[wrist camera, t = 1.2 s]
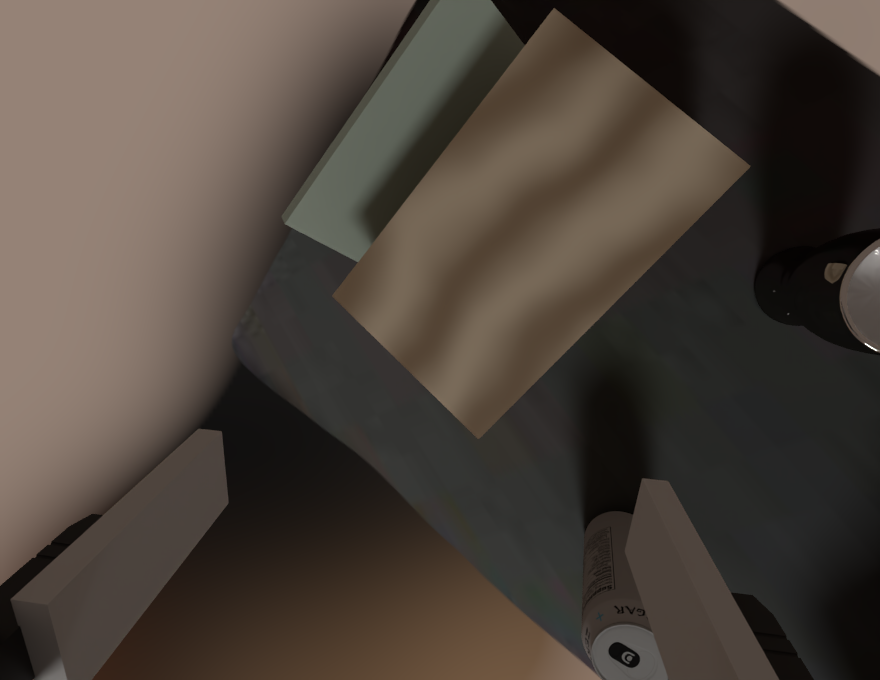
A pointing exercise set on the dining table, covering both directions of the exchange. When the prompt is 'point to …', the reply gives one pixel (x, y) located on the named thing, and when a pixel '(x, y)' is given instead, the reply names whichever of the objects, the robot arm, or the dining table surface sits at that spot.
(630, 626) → the energy drink can
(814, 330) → the beer glass
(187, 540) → the robot arm
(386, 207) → the door
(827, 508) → the dining table surface
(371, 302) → the cabinet
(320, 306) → the dining table surface
